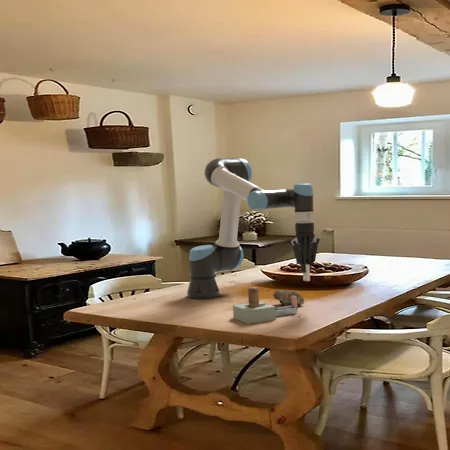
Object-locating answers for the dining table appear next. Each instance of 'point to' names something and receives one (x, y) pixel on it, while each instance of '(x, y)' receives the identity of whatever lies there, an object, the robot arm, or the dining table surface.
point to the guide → (285, 312)
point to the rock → (288, 297)
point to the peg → (253, 297)
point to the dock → (254, 313)
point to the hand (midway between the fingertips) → (306, 280)
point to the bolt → (294, 304)
